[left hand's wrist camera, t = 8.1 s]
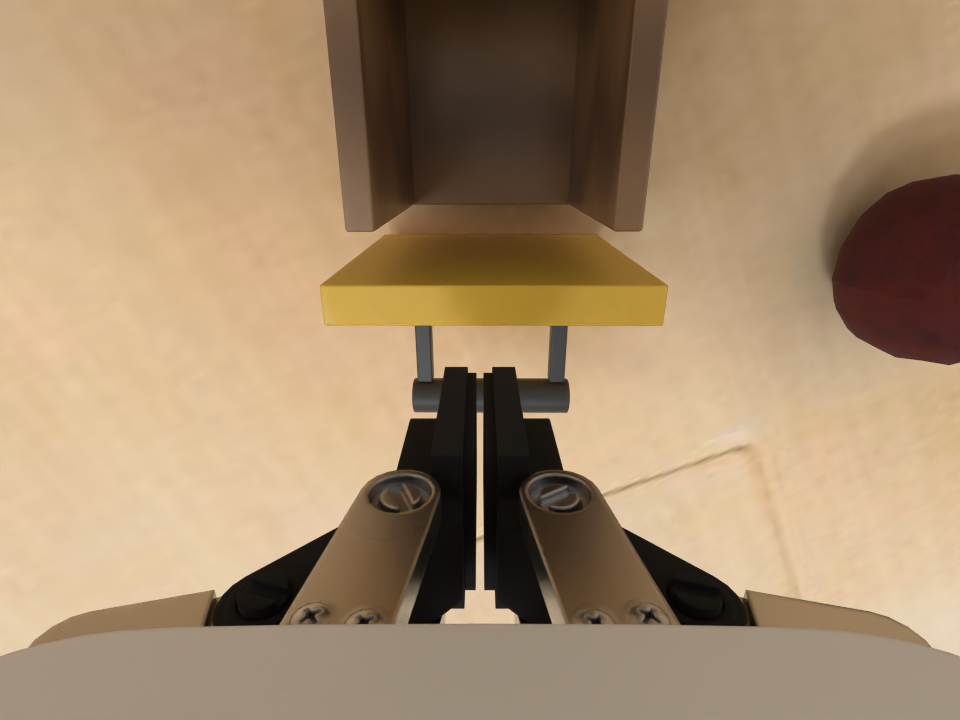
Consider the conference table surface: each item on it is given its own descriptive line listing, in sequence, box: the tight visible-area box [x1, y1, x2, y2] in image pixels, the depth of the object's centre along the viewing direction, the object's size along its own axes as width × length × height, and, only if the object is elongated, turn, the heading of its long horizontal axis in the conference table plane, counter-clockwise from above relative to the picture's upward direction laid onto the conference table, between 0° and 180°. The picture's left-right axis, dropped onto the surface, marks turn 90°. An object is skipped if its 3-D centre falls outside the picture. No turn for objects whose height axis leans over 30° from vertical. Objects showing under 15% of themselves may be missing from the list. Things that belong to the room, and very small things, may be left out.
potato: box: [832, 175, 960, 365], centre depth 21 cm, size 7×8×7 cm
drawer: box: [320, 0, 668, 413], centre depth 16 cm, size 25×10×10 cm, turn 0°
